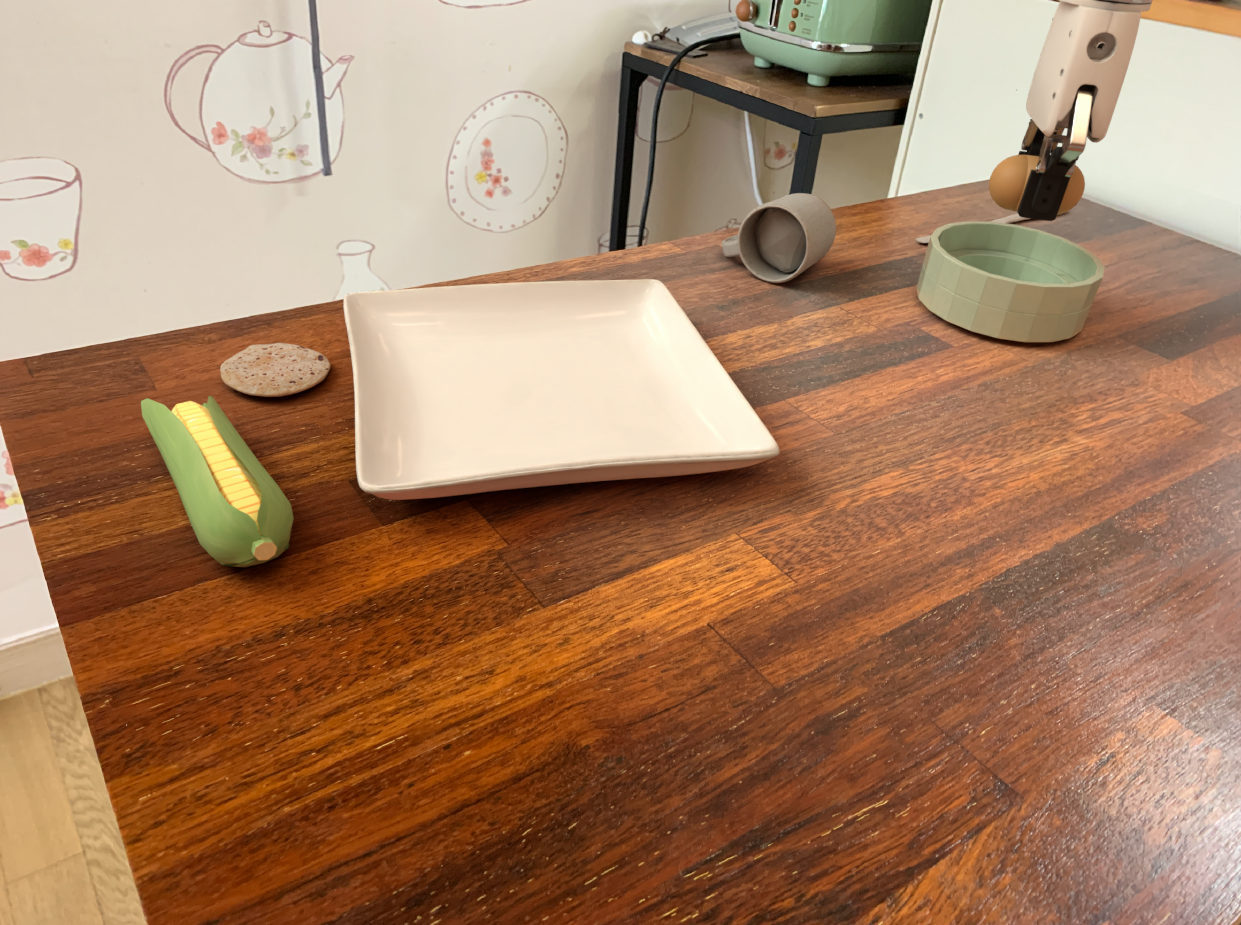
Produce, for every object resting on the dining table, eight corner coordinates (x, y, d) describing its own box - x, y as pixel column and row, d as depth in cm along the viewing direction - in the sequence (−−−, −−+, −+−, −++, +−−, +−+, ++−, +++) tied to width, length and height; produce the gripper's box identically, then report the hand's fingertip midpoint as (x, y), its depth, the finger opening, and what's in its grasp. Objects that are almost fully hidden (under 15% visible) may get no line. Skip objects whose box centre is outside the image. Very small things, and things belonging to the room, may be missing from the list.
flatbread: (350, 377, 71) (349, 366, 70) (261, 414, 66) (259, 402, 65) (288, 340, 75) (286, 328, 74) (199, 371, 70) (197, 360, 69)
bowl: (1061, 289, 95) (1082, 233, 92) (1098, 359, 83) (1124, 297, 79) (909, 268, 97) (924, 212, 93) (922, 334, 84) (940, 272, 81)
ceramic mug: (833, 267, 95) (848, 193, 91) (801, 293, 90) (815, 215, 85) (741, 242, 100) (751, 170, 95) (704, 264, 94) (713, 189, 90)
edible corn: (224, 603, 51) (208, 538, 48) (136, 427, 64) (120, 369, 61) (316, 570, 53) (307, 508, 51) (214, 408, 66) (202, 351, 64)
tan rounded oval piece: (1067, 208, 86) (1086, 156, 83) (1079, 226, 82) (1099, 172, 79) (978, 197, 86) (994, 144, 84) (986, 214, 83) (1003, 160, 80)
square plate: (363, 539, 56) (357, 487, 54) (346, 330, 77) (341, 287, 75) (777, 491, 63) (787, 443, 61) (657, 311, 84) (661, 271, 82)
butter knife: (1077, 210, 114) (1056, 200, 116) (929, 247, 101) (909, 235, 103) (1075, 214, 115) (1055, 205, 117) (927, 252, 102) (907, 240, 104)
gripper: (1189, 5, 66) (1095, 248, 77) (1125, -26, 80) (1052, 183, 90) (1081, -7, 67) (1002, 235, 77) (1036, -36, 81) (974, 173, 91)
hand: (1030, 205), depth 84 cm, fingers closed on tan rounded oval piece, 4 cm apart
